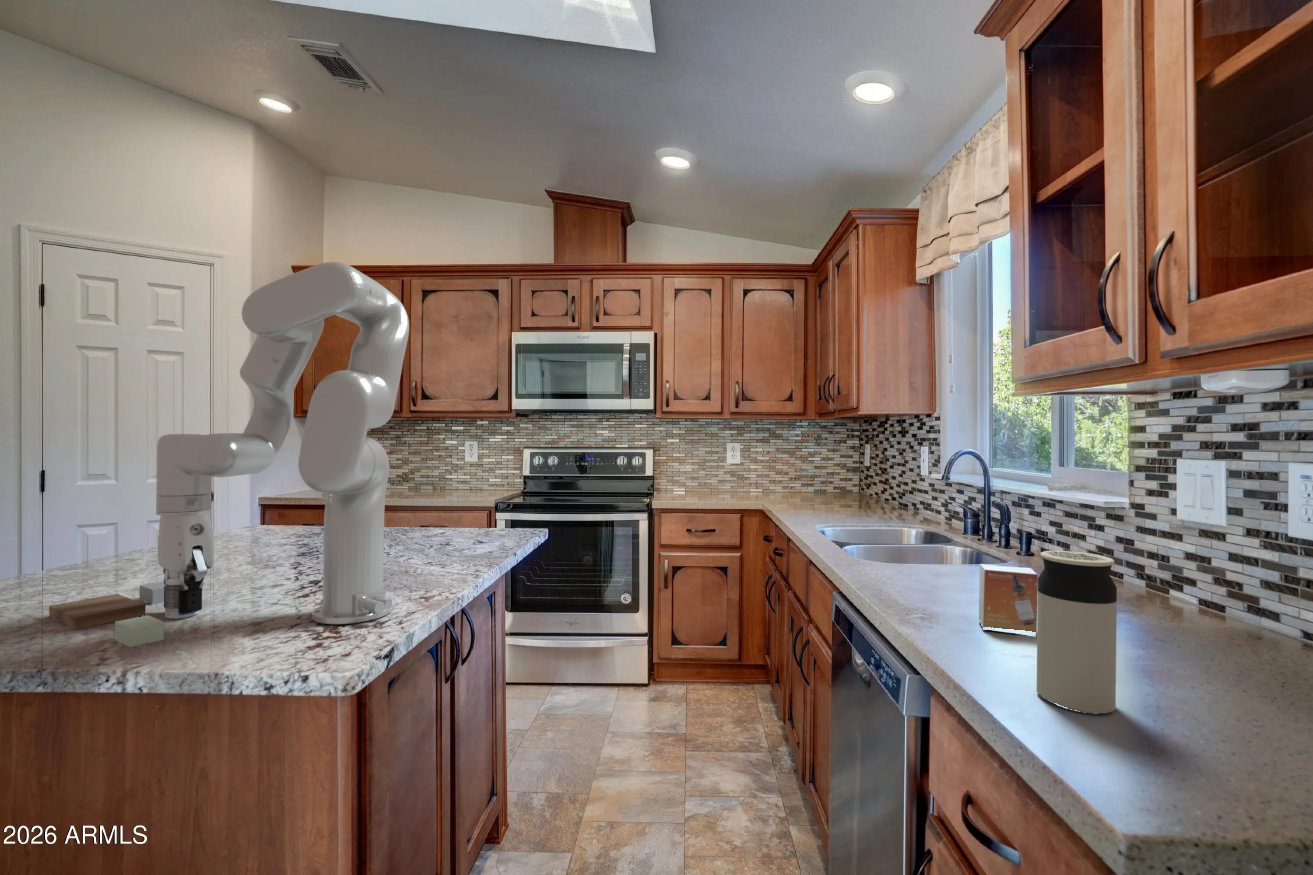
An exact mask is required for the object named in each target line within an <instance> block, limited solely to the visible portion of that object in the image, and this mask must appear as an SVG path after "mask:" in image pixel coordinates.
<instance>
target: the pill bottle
mask: <svg viewBox="0 0 1313 875" xmlns="http://www.w3.org/2000/svg"><path fill="white" fill-rule="evenodd" d="M190 570H194V567H190V568H188V570H186V571H190ZM191 575H193V574H190V575H187V580H188V579H189V577H190V576H191ZM169 577H170V579H168V580H167V581H166V591H165V608H164V616H165V618H166V619H170V620H171V619H173V620H174V619H176V620H178V619H184V618H185V619H186V618H190V617H191V618H192V617H193V616H196V615H199V613H200V611H201V610H199V611H194V612H190V613H185V614H180V613H179V612H178V609H179V590H182V588H181V579H180V573H179V572H176V571H173V570H170V569H169Z"/></svg>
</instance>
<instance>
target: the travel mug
mask: <svg viewBox="0 0 1313 875" xmlns="http://www.w3.org/2000/svg"><path fill="white" fill-rule="evenodd" d="M1039 556H1040V557H1041V558H1042V560H1043V566H1044V567H1043V570H1042V571H1041V573H1040V574H1039V576H1038V592H1037V636H1036V693H1037V692H1038V693H1039V694H1040V695H1041V696H1042V697H1044V698H1045V699H1047V700H1049V701H1051V702H1053V703H1057V704H1059V705H1061V706H1064V707H1067V708H1068V709H1072V710H1077V711H1080V712H1086V713H1104V714H1109V713H1111V712H1114V711H1115V710H1116V701H1117V700H1116V694H1117V693H1116V692H1117V688H1116V687H1117V682H1116V681H1117V622H1118V621H1117V616H1118V614H1117V611H1118V609H1117V605H1118V604H1117V603H1118V602H1117V599H1118V587H1117V586H1116V583H1115V582H1114V580H1113V579H1112V577H1111V570H1112V567H1113V565H1114V564H1115V560H1114V559H1113V558H1111V557H1108V556H1104V555H1101V554H1096V553H1091V552H1082V551H1072V550H1044V551H1042V552H1040V555H1039ZM1038 693H1037V694H1038ZM1039 694H1038V695H1039ZM1040 695H1039V696H1040ZM1041 696H1040V697H1041ZM1042 697H1041V698H1042ZM1044 698H1043V699H1044ZM1045 699H1044V700H1045ZM1047 700H1046V701H1047ZM1086 713H1085V714H1086Z"/></svg>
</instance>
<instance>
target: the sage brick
mask: <svg viewBox="0 0 1313 875" xmlns="http://www.w3.org/2000/svg"><path fill="white" fill-rule="evenodd" d="M159 640H161V641H163V640H165V621H164V620H161V619H158V618H157V617H153V616H151V615H149V614H148V615H146V614H145V616H141V617H136V618H131V619H126V620H121V621H116V622H114V641H116V642H118V643H121V644H122V643H123V644H122V645H124V646H126V647H128V648H133V647H132V646H135V647H139V646H142V645H141V644H144V643H148V644H152V643H155V641H156V642H160V641H159ZM151 642H152V643H151ZM138 645H139V646H138ZM144 645H145V644H144Z"/></svg>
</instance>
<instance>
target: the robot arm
mask: <svg viewBox="0 0 1313 875" xmlns="http://www.w3.org/2000/svg"><path fill="white" fill-rule="evenodd" d="M241 308H242V309H241V317H242V322H243V324H244V325H245V326H246V328H247V329H248V330H249V331H250V332H252V333H253V334H255V335H257V336H256V338H255V339H254V342H253V344H252V346H251V348H250V350H249V352H248V353H247V355H246V358H245V360H244V361H243V363H242V365H241V367H240V368H239V369H240V370H239V375H240V379H242V381H243V382H244V384H245V385H246V386H247V387H248V389H249V390H250V392H251V395H252V398H253V408H252V412H251V415H250V418H249V420H248V422H247V425H246V427H245V428H244V430H243V432H241V433H240V432H239V433H238V432H237V433H236V432H235V433H233V432H225V433H221V432H220V433H210V434H209V433H208V434H199V433H196V434H195V433H168V434H164V435H162V436H160V437H159V438H158V440H157V444H156V488H155V489H156V493H155V494H156V495H155V496H156V497H155V498H156V499H155V500H156V501H155V502H156V504H155V507H156V508H155V515H156V516H160V518H159V524H158V525H159V527H158V537H157V538H158V539H157V564H158V565H159V566H160V567H161V568H162V569H163V571H162V575H163V574H164V575H163V576H164V577H163V581H162V582H164V585H166V581H167V580H168V579H170V577H169V569H170V570H173V571H176V572H179V573H180V579H181V588H182V590H179V609H178V612H179V613H180V614H185V613H190V612H194V611H199V610H200V611H201V610H202V609H203V588H204V580H205V577H206V576H207V574H208V570H210V569H212V568H213V567H214V564H215V559H214V557H215V556H214V555H215V553H214V552H215V551H214V533H213V532H214V531H213V524H212V518H211V514H210V513H212V492H213V491H212V490H213V489H212V488H213V486H212V483H213V482H212V481H213V480H212V478H228V477H235V476H236V477H237V476H245V475H254V474H259V473H261V472H263V471H265V470H267V469H268V468H270V466H271V465H272V464H273V463H274V462H275V461H276V459H277V458H278V457H279V455H280V452H281V451H282V449H283V447H284V445H285V442H286V441H287V439H288V436H289V434H290V431H291V429H292V425H293V417H294V391H295V389H296V387H297V385H298V383H299V381H300V378H301V376H302V375H303V372H304V370H305V368H306V366H307V365H308V362H309V360H310V359H311V356H312V354H313V352H314V350H315V349H316V347H317V344H318V342H319V340H320V338H321V336H322V335H323V331H324V327H325V319H326V318H329V317H332V316H337V317H339V318H341V319H344V320H347V321H349V322H352V323H354V324H355V325H357V326H358V327H359V333H358V335H357V336H356V338H355V339H354V342H353V344H352V346H351V351H350V357H349V361H348V365H347V369H345V370H338V371H334V372H332V373H329V374H328V375H326V376H325V377H324V378H322V379H321V380H320V381H319V382H318V384H317V385H316V387H315V389H314V391H313V392H312V395H311V399H310V401H309V405H308V410H307V414H306V419H305V422H304V423H305V424H304V429H303V433H302V437H301V442H300V443H301V444H300V448H299V452H298V471H299V475H300V477H301V479H302V481H303V482H304V484H305V485H307V487H308V488H310V489H312V490H313V491H315V492H317V493H320V494H325V495H326V494H327V495H326V496H327V497H326V500H325V501H326V502H325V504H324V513H323V515H324V516H323V543H322V544H323V549H322V550H323V553H322V554H323V557H322V558H323V560H322V562H323V563H322V567H323V568H322V605H321V606H318V607H316V608H315V609H313V611H312V612H311V617H312V619H311V620H313V621H314V622H317V623H319V624H324V625H325V624H327V625H348V624H358V623H362V622H369V621H372V620H377V619H380V618H382V617H385V616H387V615H388V614H390V613H391V612H392V610H393V600H392V599H391V598H386V588H384V553H385V551H384V550H385V549H384V546H385V545H384V542H385V508H386V507H385V506H386V494H387V488H388V487H387V486H388V480H389V475H390V459H389V455H388V454H387V451H386V449H385V448H384V447H383V445H382V444H380V442H379V441H377V440H375V439H373V438H371V437H369V436H367V434H368V430H370V429H377V428H381V427H382V426H384V425H385V424H387V423H388V422H389V421H390V420H391V418H392V417H393V414H394V411H395V407H396V402H397V396H398V391H399V386H400V381H401V375H402V370H403V366H404V365H403V364H404V358H405V354H406V350H407V345H408V341H409V337H410V336H409V334H410V320H409V319H410V318H409V316H408V313H407V310H406V308H405V306H404V305H403V303H402V302H401V301H400V299H399V298H398V297H397V296H396V295H394V294H393V293H392V292H391V291H390V290H389V289H387V288H386V287H385V286H383V284H380V283H379V282H377V281H376V280H374V279H373V278H371V277H369V275H366V274H364V273H363V272H361V271H359V269H357V268H355V267H353V266H351V265H349V264H347V263H344V262H339V261H329V262H322V263H319V264H315V265H312V266H310V267H307V268H305V269H301V270H300V271H297V272H294V273H291V274H289V275H287V276H284V277H281V278H279V279H276V280H274V281H271V282H269V283H267V284H265V285H263V286H261V287H259V288H257V289H255V290H254V291H253V292H252V293H251V294H249V295H248V296H247V298H246V299H245V301H244V303H243V305H242V307H241ZM190 567H194V570H190V571H186V570H188V568H190ZM190 574H193V575H191V576H190V577H189V579H188V580H187V575H190ZM165 591H166V586H164V603H163V608H164V609H165Z"/></svg>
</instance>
